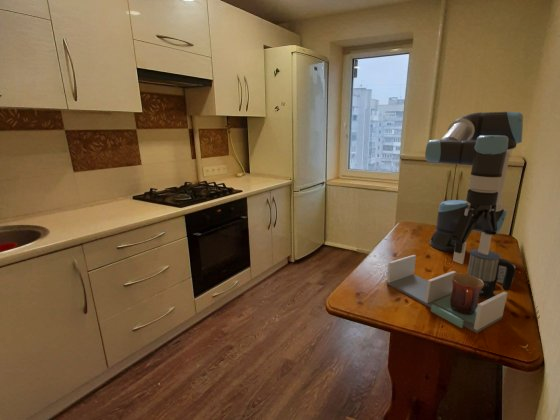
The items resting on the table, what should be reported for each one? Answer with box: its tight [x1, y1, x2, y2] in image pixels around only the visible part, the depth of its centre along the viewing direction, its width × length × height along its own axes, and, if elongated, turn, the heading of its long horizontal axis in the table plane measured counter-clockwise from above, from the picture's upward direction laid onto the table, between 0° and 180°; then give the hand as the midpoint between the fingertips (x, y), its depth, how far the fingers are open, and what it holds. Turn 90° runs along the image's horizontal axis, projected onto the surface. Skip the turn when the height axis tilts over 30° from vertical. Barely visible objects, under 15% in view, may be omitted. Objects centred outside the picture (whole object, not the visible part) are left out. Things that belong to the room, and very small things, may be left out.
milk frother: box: [467, 248, 516, 299], centre depth 112 cm, size 14×16×15 cm
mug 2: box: [496, 263, 517, 285], centre depth 120 cm, size 10×7×7 cm, turn 136°
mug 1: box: [450, 273, 484, 314], centre depth 95 cm, size 12×9×10 cm
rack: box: [386, 254, 508, 334], centre depth 104 cm, size 16×33×9 cm, turn 30°
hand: (470, 257), depth 94 cm, fingers open, 13 cm apart
